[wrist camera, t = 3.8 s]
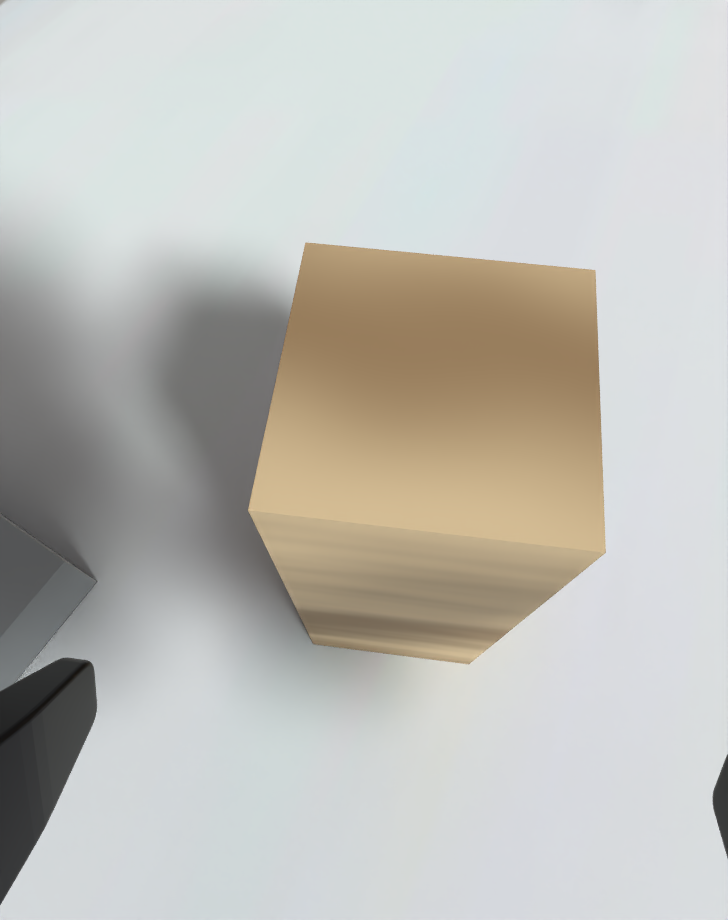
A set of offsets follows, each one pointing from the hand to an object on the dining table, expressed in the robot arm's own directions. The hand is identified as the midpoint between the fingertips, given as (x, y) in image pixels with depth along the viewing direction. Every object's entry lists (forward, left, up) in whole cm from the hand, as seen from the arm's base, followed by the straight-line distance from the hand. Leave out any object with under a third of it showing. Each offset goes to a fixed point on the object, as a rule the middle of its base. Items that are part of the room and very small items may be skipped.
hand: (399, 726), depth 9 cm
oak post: (+2, -5, -11) cm, 12 cm away
